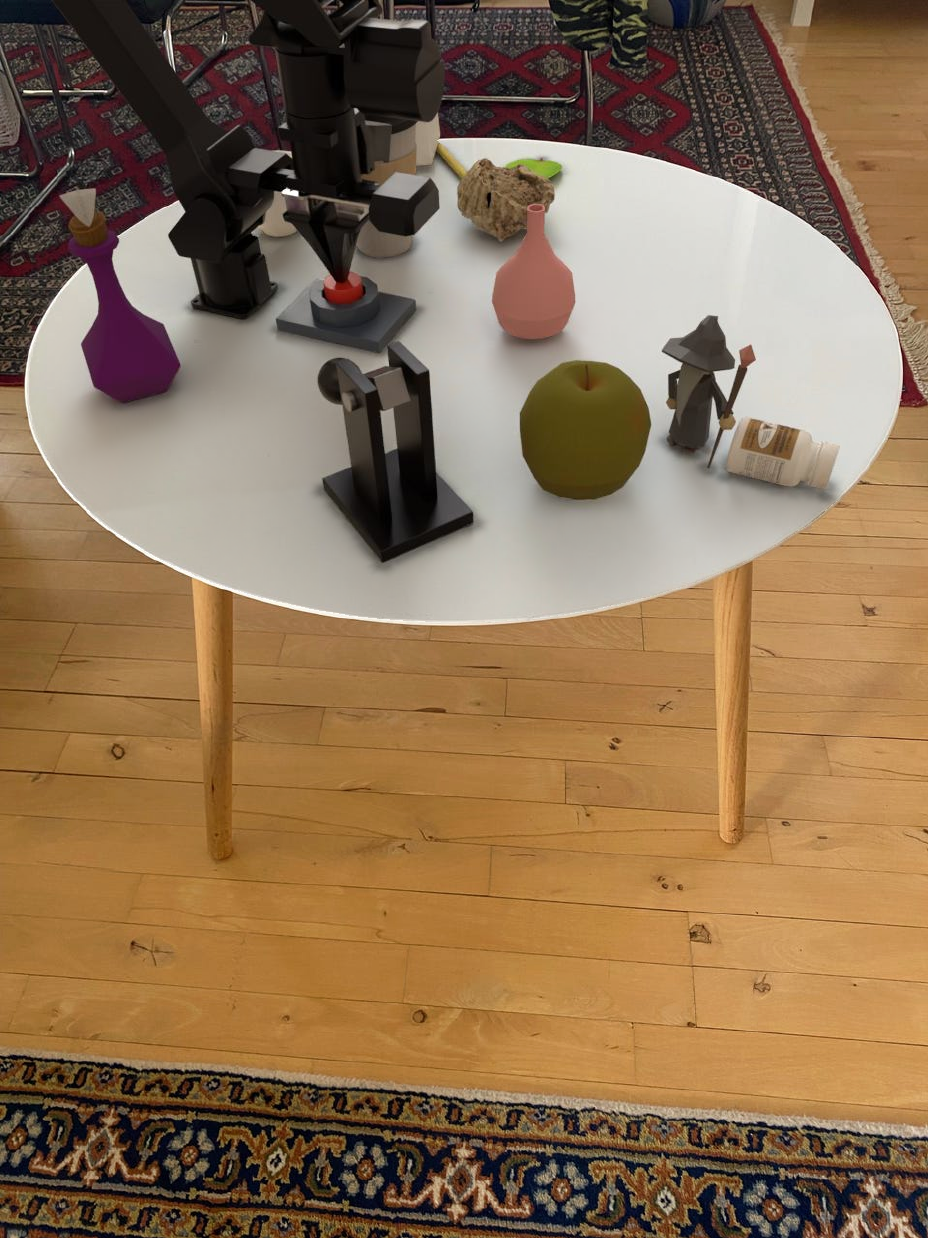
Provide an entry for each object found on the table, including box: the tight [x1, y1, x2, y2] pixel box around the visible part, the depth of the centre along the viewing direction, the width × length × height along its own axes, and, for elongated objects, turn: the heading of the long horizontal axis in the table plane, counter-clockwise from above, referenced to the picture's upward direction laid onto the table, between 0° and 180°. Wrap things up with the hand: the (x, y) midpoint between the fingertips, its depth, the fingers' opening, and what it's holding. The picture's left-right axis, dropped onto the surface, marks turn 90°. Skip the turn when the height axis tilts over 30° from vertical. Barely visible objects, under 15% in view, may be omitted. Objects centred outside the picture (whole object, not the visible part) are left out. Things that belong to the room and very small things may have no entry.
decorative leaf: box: [504, 157, 563, 179], centre depth 115 cm, size 8×9×1 cm
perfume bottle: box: [59, 188, 181, 403], centre depth 83 cm, size 8×8×18 cm
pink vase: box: [491, 204, 576, 340], centre depth 89 cm, size 8×8×12 cm
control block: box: [275, 275, 417, 354], centre depth 95 cm, size 11×8×3 cm
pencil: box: [436, 141, 468, 180], centre depth 117 cm, size 1×14×1 cm
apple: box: [519, 359, 652, 501], centre depth 75 cm, size 10×10×11 cm
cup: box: [257, 150, 298, 238], centre depth 107 cm, size 8×10×7 cm
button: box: [323, 271, 363, 304], centre depth 93 cm, size 4×4×2 cm
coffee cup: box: [356, 114, 418, 259], centre depth 100 cm, size 9×9×15 cm
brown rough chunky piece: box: [456, 157, 556, 242], centre depth 105 cm, size 11×7×10 cm
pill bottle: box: [725, 416, 841, 490], centre depth 77 cm, size 4×4×8 cm
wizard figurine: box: [661, 314, 756, 469], centre depth 76 cm, size 8×6×12 cm
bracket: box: [321, 340, 474, 563], centre depth 73 cm, size 10×8×13 cm
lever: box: [316, 357, 411, 412], centre depth 73 cm, size 12×4×4 cm, turn 31°
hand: (341, 280), depth 93 cm, fingers closed, pressing on button
